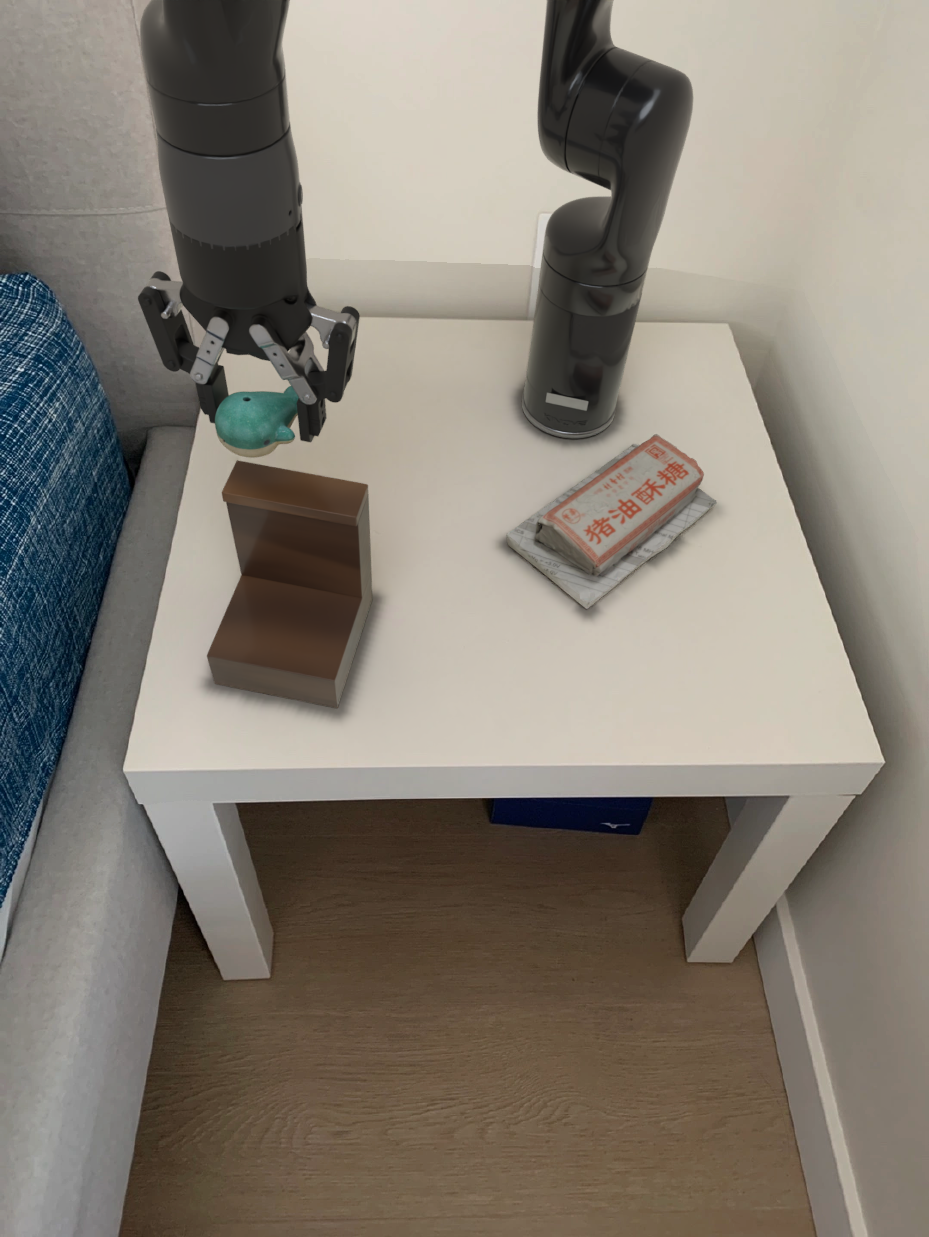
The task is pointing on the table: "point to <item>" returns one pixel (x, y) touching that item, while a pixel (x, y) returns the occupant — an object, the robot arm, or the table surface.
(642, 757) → the table surface
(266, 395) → the whale figurine
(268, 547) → the shelf
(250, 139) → the robot arm
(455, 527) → the table surface
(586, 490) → the packaged product
